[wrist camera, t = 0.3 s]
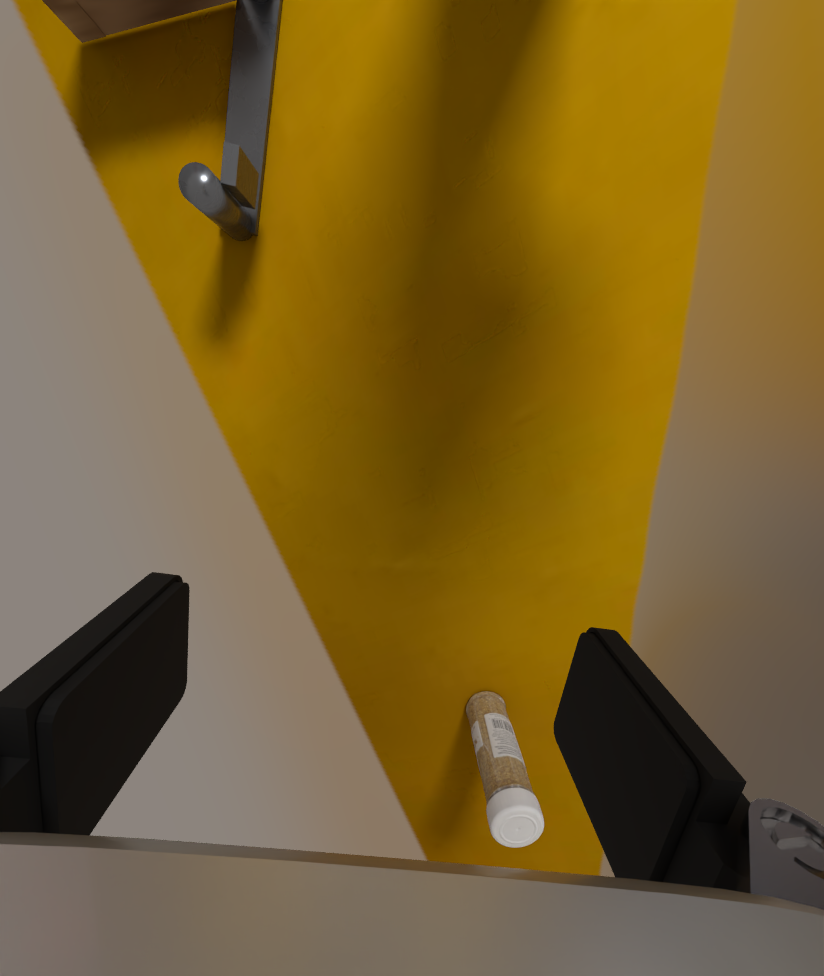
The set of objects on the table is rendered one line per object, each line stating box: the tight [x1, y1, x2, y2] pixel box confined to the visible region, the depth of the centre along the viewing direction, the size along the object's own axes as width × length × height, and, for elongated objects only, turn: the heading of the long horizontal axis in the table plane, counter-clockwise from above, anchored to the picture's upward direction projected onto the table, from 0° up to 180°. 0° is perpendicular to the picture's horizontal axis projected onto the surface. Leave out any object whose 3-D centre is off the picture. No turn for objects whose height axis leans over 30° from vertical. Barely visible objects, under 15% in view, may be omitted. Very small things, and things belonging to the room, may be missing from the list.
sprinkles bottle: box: [466, 691, 544, 847], centre depth 41 cm, size 5×4×14 cm
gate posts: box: [179, 0, 283, 241], centre depth 29 cm, size 18×4×8 cm, turn 168°
